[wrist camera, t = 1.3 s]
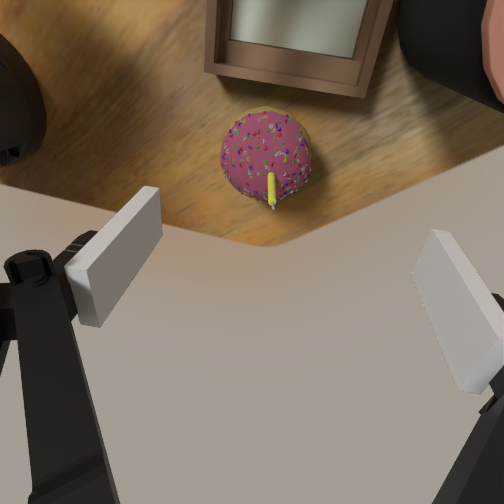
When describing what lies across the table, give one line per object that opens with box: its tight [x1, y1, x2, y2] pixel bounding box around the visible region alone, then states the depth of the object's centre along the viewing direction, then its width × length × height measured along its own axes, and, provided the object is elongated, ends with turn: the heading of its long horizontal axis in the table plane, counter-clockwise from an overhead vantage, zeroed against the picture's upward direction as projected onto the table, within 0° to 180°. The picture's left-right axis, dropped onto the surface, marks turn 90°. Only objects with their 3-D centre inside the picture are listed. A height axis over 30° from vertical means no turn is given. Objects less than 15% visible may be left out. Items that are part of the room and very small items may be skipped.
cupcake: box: [220, 106, 312, 210], centre depth 30 cm, size 9×8×12 cm
